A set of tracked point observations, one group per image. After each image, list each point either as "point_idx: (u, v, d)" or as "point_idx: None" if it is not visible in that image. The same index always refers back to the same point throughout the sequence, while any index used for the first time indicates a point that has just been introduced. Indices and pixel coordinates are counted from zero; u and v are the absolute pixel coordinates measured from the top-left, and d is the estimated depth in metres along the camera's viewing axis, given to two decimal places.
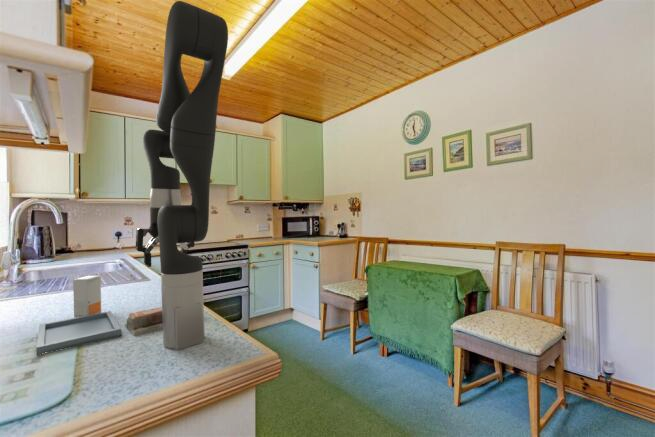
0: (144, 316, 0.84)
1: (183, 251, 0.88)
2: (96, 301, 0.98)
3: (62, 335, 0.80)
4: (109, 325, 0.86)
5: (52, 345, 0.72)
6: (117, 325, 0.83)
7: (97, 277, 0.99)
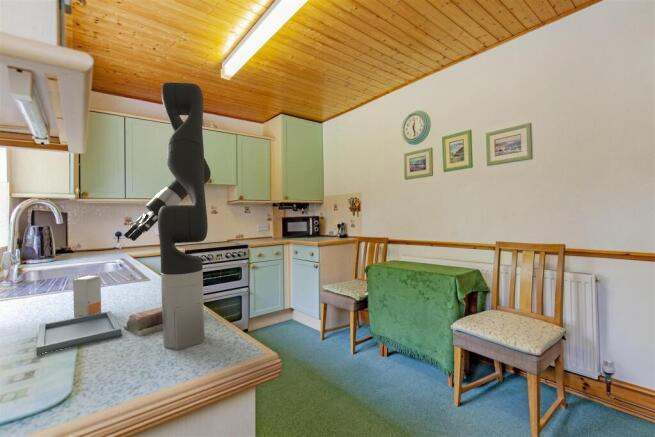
0: (148, 316, 0.83)
1: None
2: (96, 301, 0.98)
3: (62, 335, 0.80)
4: (109, 325, 0.86)
5: (52, 345, 0.72)
6: (117, 325, 0.83)
7: (97, 277, 0.99)
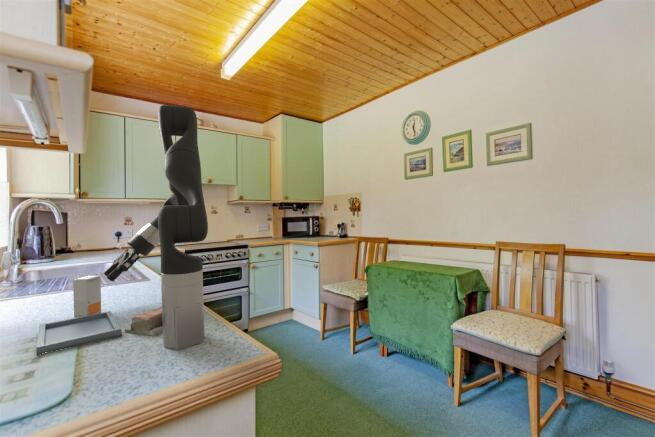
0: (156, 316, 0.83)
1: None
2: (96, 301, 0.98)
3: (62, 335, 0.80)
4: (109, 325, 0.86)
5: (52, 345, 0.72)
6: (117, 325, 0.83)
7: (97, 277, 0.99)
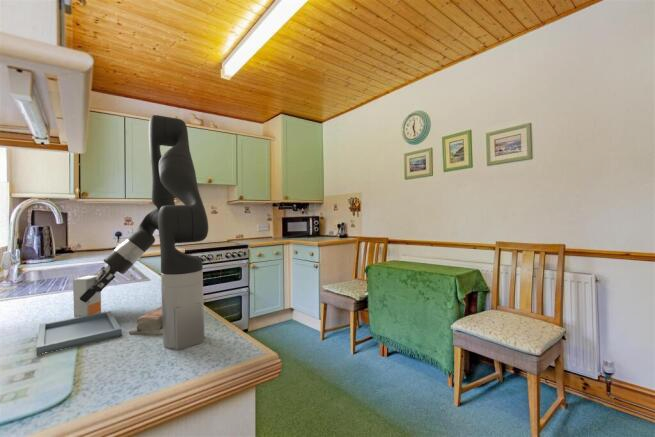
0: None
1: None
2: (96, 301, 0.98)
3: (62, 335, 0.80)
4: (109, 325, 0.86)
5: (52, 345, 0.72)
6: (117, 325, 0.83)
7: None
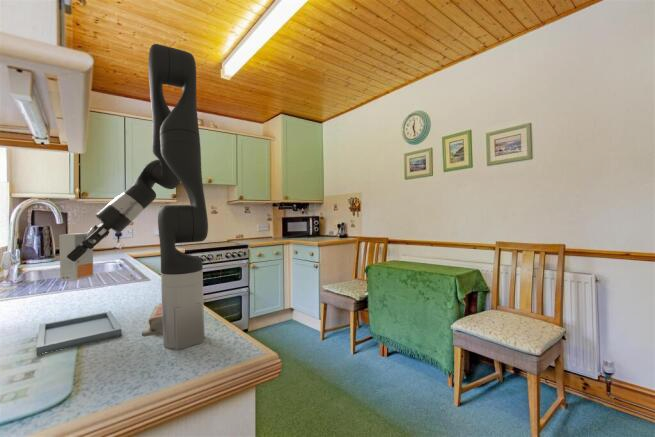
0: None
1: None
2: (87, 262, 0.83)
3: (62, 335, 0.80)
4: (109, 325, 0.86)
5: (52, 345, 0.72)
6: (117, 325, 0.83)
7: None
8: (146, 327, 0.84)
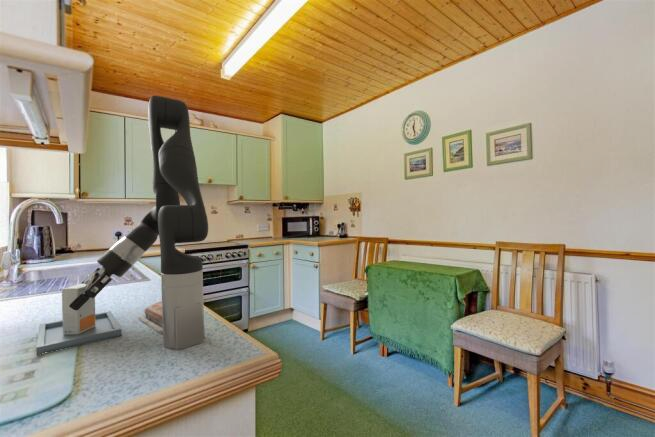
0: None
1: None
2: (89, 314, 0.83)
3: (62, 335, 0.80)
4: (109, 325, 0.86)
5: (52, 345, 0.72)
6: (117, 325, 0.83)
7: None
8: (157, 327, 0.84)
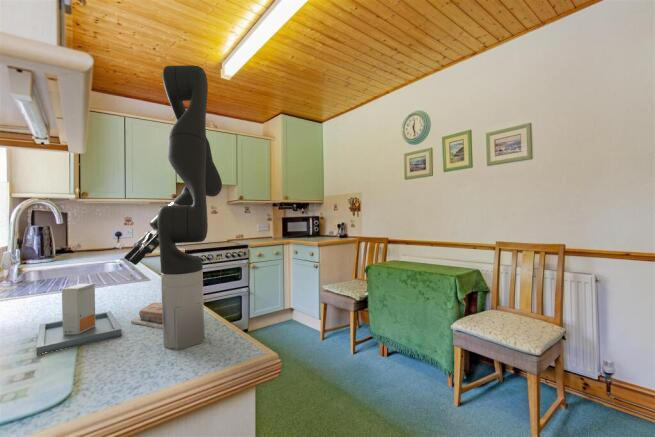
0: None
1: None
2: (89, 314, 0.83)
3: (62, 335, 0.80)
4: (109, 325, 0.86)
5: (52, 345, 0.72)
6: (117, 325, 0.83)
7: (90, 285, 0.84)
8: None
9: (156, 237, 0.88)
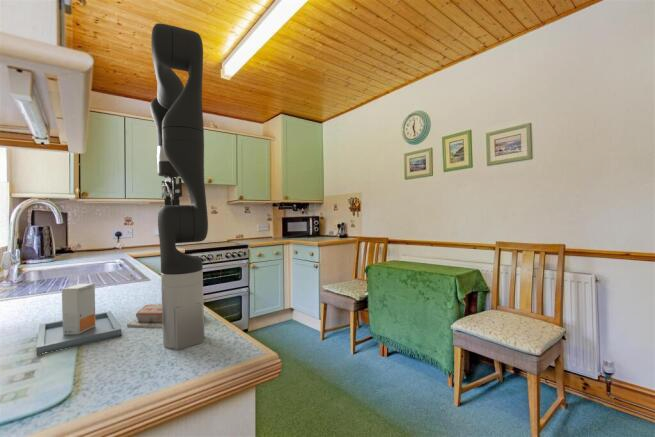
0: None
1: None
2: (89, 314, 0.83)
3: (62, 335, 0.80)
4: (109, 325, 0.86)
5: (52, 345, 0.72)
6: (117, 325, 0.83)
7: (90, 285, 0.84)
8: None
9: (174, 182, 0.96)
